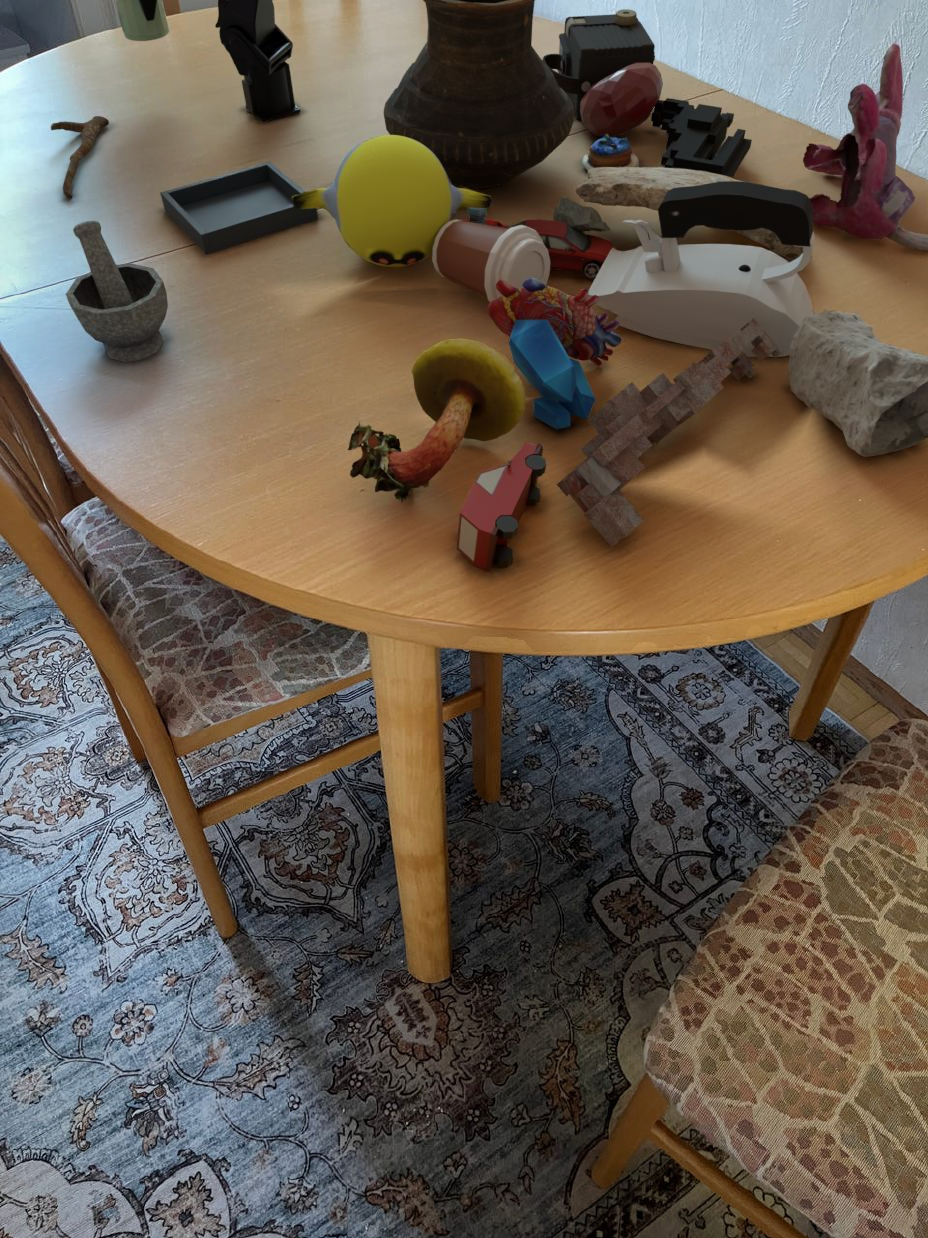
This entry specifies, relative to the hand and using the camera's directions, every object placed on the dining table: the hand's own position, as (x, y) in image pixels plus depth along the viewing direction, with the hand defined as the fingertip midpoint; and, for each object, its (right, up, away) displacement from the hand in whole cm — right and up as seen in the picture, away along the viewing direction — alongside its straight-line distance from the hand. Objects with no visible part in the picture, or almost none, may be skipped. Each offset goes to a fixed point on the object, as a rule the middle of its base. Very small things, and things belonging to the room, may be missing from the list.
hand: (142, 13), depth 134 cm
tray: (+19, -37, -16) cm, 44 cm away
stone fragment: (+75, -34, -18) cm, 84 cm away
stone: (+59, -40, -27) cm, 76 cm away
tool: (+79, -27, -8) cm, 83 cm away
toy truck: (+53, -80, -56) cm, 112 cm away
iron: (+74, -57, -33) cm, 99 cm away
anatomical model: (+51, -57, -48) cm, 90 cm away
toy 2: (+90, -31, -25) cm, 99 cm away
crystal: (+59, -71, -48) cm, 104 cm away
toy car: (+58, -48, -26) cm, 80 cm away
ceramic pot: (+50, -29, -10) cm, 58 cm away
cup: (0, -2, +2) cm, 2 cm away
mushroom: (+44, -78, -58) cm, 106 cm away
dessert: (+68, -29, -9) cm, 75 cm away
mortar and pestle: (+11, -59, -34) cm, 69 cm away
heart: (+69, -21, -9) cm, 72 cm away
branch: (-6, -24, -4) cm, 25 cm away
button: (+49, -39, -26) cm, 68 cm away
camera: (+75, -6, +2) cm, 75 cm away
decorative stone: (+90, -69, -54) cm, 125 cm away
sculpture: (+77, -62, -42) cm, 108 cm away
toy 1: (+38, -42, -21) cm, 60 cm away
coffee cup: (+46, -47, -29) cm, 72 cm away
